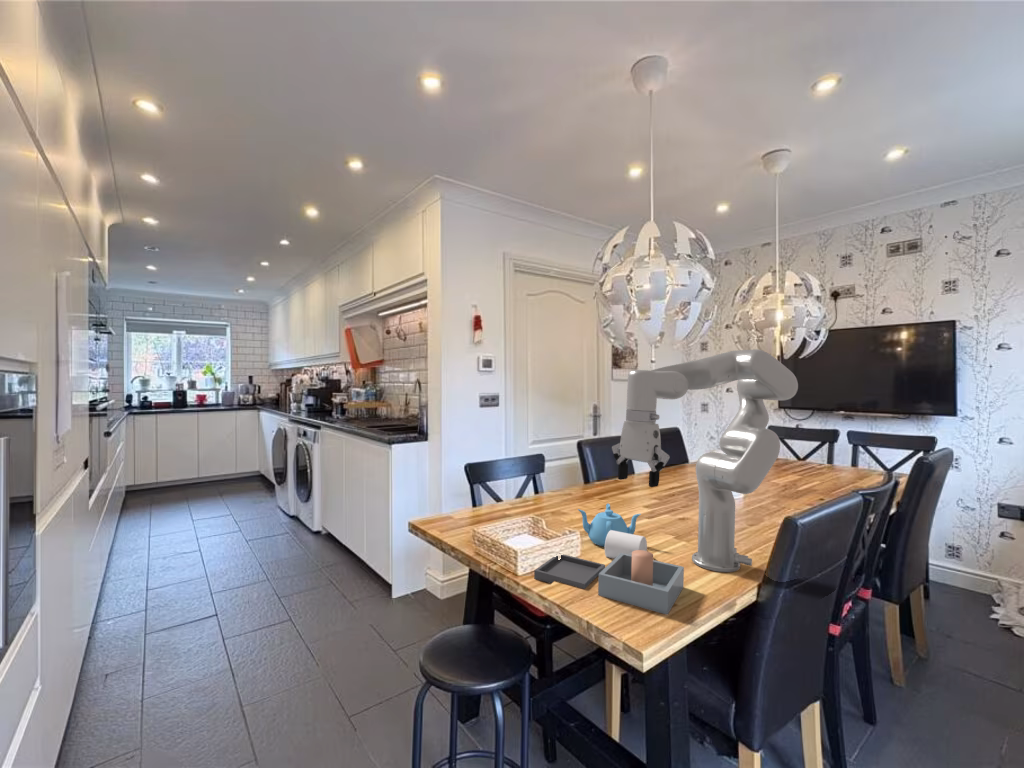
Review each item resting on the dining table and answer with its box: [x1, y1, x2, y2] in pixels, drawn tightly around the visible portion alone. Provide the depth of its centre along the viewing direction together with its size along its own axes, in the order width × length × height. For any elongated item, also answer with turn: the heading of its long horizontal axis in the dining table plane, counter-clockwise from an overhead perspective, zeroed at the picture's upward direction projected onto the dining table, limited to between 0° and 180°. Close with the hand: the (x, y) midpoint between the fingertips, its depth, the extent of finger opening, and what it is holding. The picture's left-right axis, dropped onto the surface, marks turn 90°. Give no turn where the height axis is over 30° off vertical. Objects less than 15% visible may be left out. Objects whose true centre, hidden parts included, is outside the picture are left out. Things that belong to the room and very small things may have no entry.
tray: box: [533, 554, 606, 590], centre depth 120 cm, size 14×14×2 cm
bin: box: [597, 553, 685, 615], centre depth 110 cm, size 16×16×6 cm
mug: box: [604, 530, 648, 560], centre depth 132 cm, size 12×10×8 cm
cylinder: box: [631, 550, 654, 586], centre depth 110 cm, size 5×5×9 cm
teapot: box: [577, 503, 642, 548], centre depth 146 cm, size 15×15×10 cm
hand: (637, 482), depth 119 cm, fingers open, 9 cm apart
